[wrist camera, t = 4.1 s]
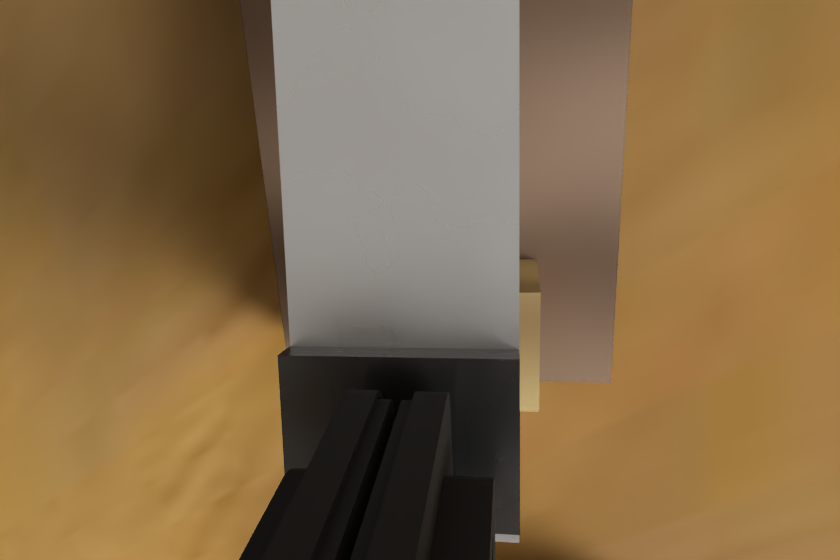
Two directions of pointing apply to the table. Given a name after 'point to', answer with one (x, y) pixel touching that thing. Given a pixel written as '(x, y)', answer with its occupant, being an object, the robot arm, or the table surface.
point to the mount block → (529, 179)
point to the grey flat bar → (403, 220)
